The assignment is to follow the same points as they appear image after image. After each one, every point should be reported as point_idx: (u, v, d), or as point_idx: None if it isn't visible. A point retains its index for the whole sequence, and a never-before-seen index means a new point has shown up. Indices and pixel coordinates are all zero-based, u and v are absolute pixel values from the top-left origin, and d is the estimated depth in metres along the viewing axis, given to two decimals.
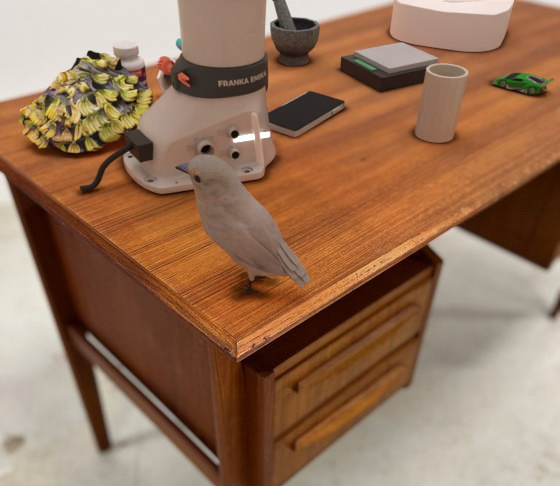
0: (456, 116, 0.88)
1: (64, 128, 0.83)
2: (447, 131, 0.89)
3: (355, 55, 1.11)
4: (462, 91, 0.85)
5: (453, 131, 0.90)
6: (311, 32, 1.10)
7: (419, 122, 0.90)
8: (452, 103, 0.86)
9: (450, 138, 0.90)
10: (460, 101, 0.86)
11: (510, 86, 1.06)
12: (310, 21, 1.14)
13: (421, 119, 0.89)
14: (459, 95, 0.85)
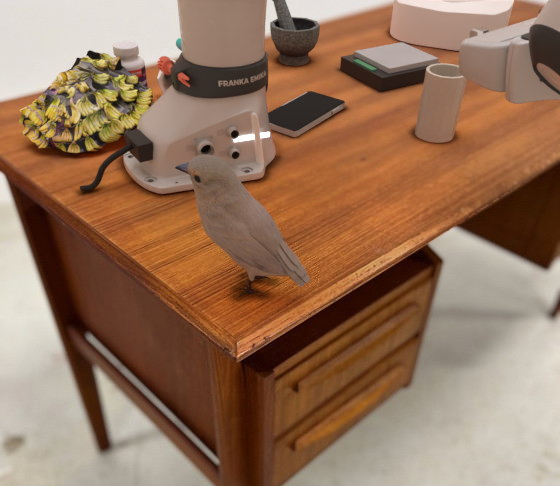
0: (456, 116, 0.88)
1: (64, 128, 0.83)
2: (447, 131, 0.89)
3: (355, 55, 1.11)
4: (462, 91, 0.85)
5: (453, 131, 0.90)
6: (311, 32, 1.10)
7: (419, 122, 0.90)
8: (452, 103, 0.86)
9: (450, 138, 0.90)
10: (460, 101, 0.86)
11: None
12: (310, 21, 1.14)
13: (421, 119, 0.89)
14: (459, 95, 0.85)
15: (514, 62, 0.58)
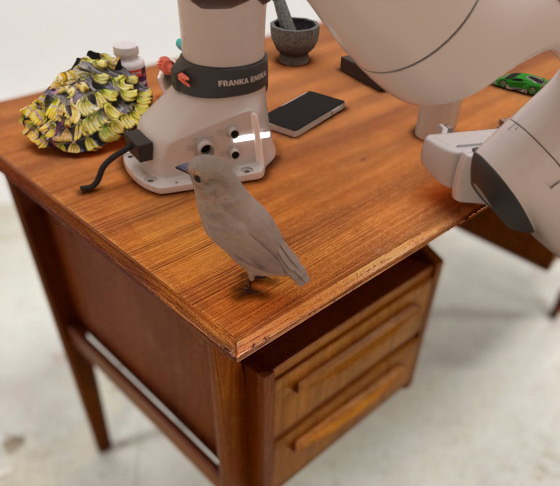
0: (456, 116, 0.88)
1: (64, 128, 0.83)
2: None
3: None
4: None
5: (453, 131, 0.90)
6: (311, 32, 1.10)
7: (419, 122, 0.90)
8: (452, 103, 0.86)
9: None
10: (460, 101, 0.86)
11: (510, 86, 1.06)
12: (310, 21, 1.14)
13: (421, 119, 0.89)
14: None
15: (462, 168, 0.68)
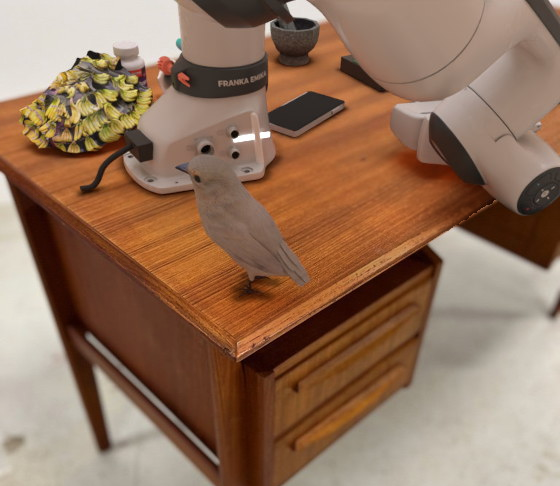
0: None
1: (64, 128, 0.83)
2: None
3: None
4: None
5: None
6: (311, 32, 1.10)
7: None
8: None
9: None
10: None
11: None
12: (310, 21, 1.14)
13: None
14: None
15: (424, 132, 0.77)
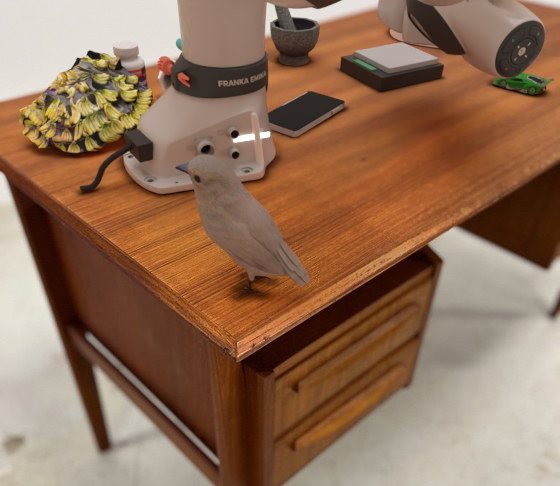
0: None
1: (64, 128, 0.83)
2: None
3: (355, 55, 1.11)
4: None
5: None
6: (311, 32, 1.10)
7: None
8: None
9: None
10: None
11: (510, 86, 1.06)
12: (310, 21, 1.14)
13: None
14: None
15: None
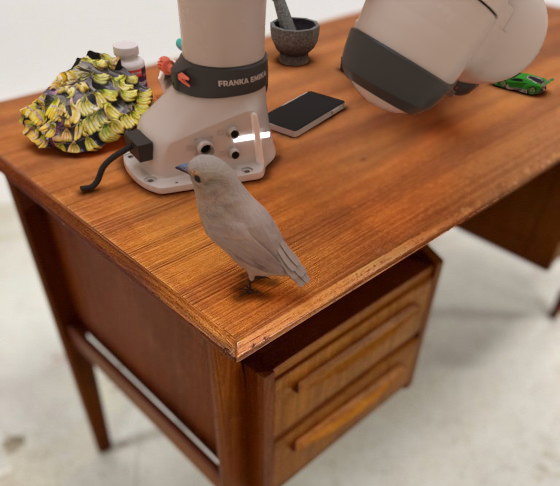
0: None
1: (64, 128, 0.83)
2: None
3: None
4: None
5: None
6: (311, 32, 1.10)
7: None
8: None
9: None
10: None
11: (510, 86, 1.06)
12: (310, 21, 1.14)
13: None
14: None
15: None
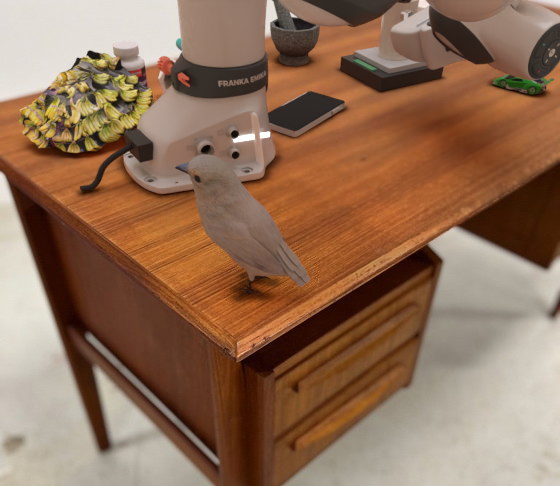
0: None
1: (64, 128, 0.83)
2: None
3: (355, 55, 1.11)
4: None
5: None
6: (311, 32, 1.10)
7: (380, 43, 1.07)
8: None
9: None
10: None
11: (510, 86, 1.06)
12: None
13: (382, 40, 1.07)
14: None
15: (425, 43, 0.83)
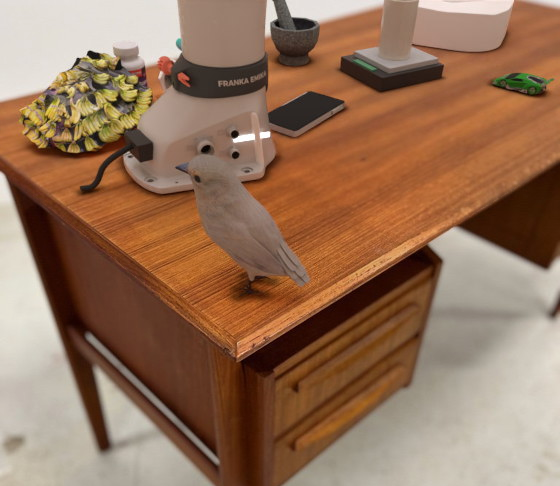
0: (410, 37, 1.05)
1: (64, 128, 0.83)
2: (403, 50, 1.06)
3: (355, 55, 1.11)
4: (414, 14, 1.03)
5: (409, 51, 1.07)
6: (311, 32, 1.10)
7: (380, 43, 1.07)
8: (406, 24, 1.03)
9: (406, 57, 1.08)
10: (413, 23, 1.04)
11: (510, 86, 1.06)
12: (310, 21, 1.14)
13: (382, 40, 1.07)
14: (412, 17, 1.03)
15: None
